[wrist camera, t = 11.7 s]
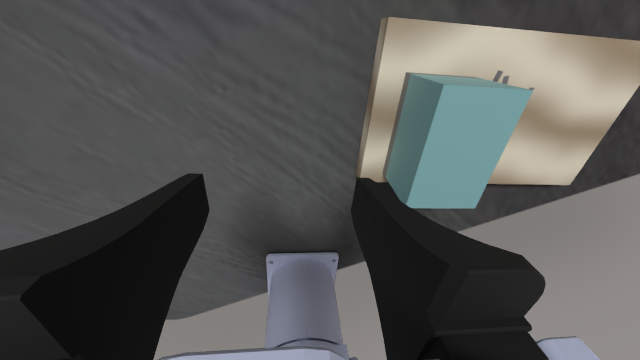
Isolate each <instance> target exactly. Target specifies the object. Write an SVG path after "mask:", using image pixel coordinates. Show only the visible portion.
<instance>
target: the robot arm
mask: <svg viewBox="0 0 640 360" xmlns="http://www.w3.org/2000/svg"><path fill="white" fill-rule="evenodd" d="M208 213H209V205H208V200H207V194H206V189H205V184H204V179H203V174H186V175H184V176H182V177H180V178H178V179H176V180H175V181H173V182H171V183H169V184H167V185H166V186H164V187H162V188H160V189H158V190H157V191H155V192H153V193H151V194H149V195H147V196H146V197H144V198H142V199H140V200H138V201H136V202H134V203H132V204H130V205H128V206H126V207H124V208H122V209H120V210H117V211H115V212H113V213H111V214H108V215H106V216H103V217H101V218H99V219H96V220H94V221H91V222H89V223H86V224H83V225H80V226H77V227H75V228H72V229H69V230H66V231H64V232H61V233H58V234H55V235H52V236H49V237H45V238H42V239H39V240H36V241H32V242H29V243H26V244H22V245H19V246H15V247H12V248H8V249H4V250H1V251H0V360H153V358H154V355H155V351H156V348H157V345H158V342H159V338H160V335H161V332H162V328H163V325H164V322H165V319H166V316H167V313H168V310H169V307H170V304H171V301H172V298H173V296H174V293H175V290H176V287H177V284H178V282H179V279H180V277H181V275H182V272H183V270H184V268H185V266H186V264H187V262H188V260H189V258H190V256H191V254H192V252H193V250H194V248H195V246H196V244H197V242H198V239H199V237H200V235H201V233H202V231H203V229H204V226H205V223H206V220H207V217H208ZM351 214H352V219H353V224H354V229H355V232H356V235H357V237H358V240H359V243H360V246H361V249H362V252H363V255H364V258H365V260H366V263H367V266H368V269H369V273H370V276H371V281H372V285H373V289H374V293H375V298H376V303H377V307H378V312H379V317H380V322H381V328H382V333H383V338H384V344H385V350H386V356H387V360H600V359H599V358H598V357H597V356H596V355H595V354H594V353H593V352H592V351H591V350H590V349H589V347H588V346H586V344H585V343H584V342H583V341H582V340H581V339H580V338H579V337H575V336H572V337H556V338H546V339H542V340H540V341H537V342H535V341H534V339H533V338H532V337H531V336H530V334H529V333H528V332H529V331H531V330H532V327H531V325H530V324H529V322H528V321H527V320H526V319H525V317H524V315H525V314H526V313H527V312H528V311H529V310H530V309H531V308H532V306H533V305H534V304H535V303H536V302H537V301H538V299H539V298H540V297H541V295H542V294H543V292H544V288H545V280H544V277H543V276H542V275H541V274H540V273H539V272H538V271H537V270H536V269H535V268H534V267H533V266H532V265H531V264H530V263H529V262H528V261H527V260H526V259H525V258H524V257H523V256H522V255H519V254H516V253H512V252H510V251H506V250H503V249H500V248H497V247H494V246H490V245H488V244H484V243H482V242H480V241H476V240H474V239H471V238H469V237H466V236H464V235H462V234H459V233H457V232H455V231H453V230H451V229H448V228H446V227H444V226H442V225H440V224H438V223H436V222H434V221H432V220H430V219H429V218H427V217H425V216H423V215H421V214H420V213H418V212H416V211H415V210H413V209H412V208H410V207H409V206H407V205H406V204H404V203H403V202H401V201H400V200H399V199H397V198H396V197H394V196H393V195H392V194H390V193H389V192H388V191H387V190H385V189H384V188H383V187H381V186H380V185H379V184H377V183H376V182H375V181H373V180H372V179H370V178H359V177H357V180H356V186H355V191H354V197H353V203H352V208H351ZM333 259H335V260H333ZM338 259H339V256H338V253H336V252H325V253H274V254H268V255H267V257H266V264H267V281H268V298H269V305H268V315H267V327H266V336H265V347H264V348H258V349H240V350H223V351H206V352H189V353H182V354H177V355H172V356H167V357H162V358H160V359H159V360H358V359H357V358H356V357H352V358H349V356H348V350H347V345H343V339H342V333H341V327H340V321H339V314H338V308H337V301H336V295H335V289H334V284H335V277H336V271H337V265H338Z"/></svg>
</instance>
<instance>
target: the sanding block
mask: <svg viewBox="0 0 640 360" xmlns="http://www.w3.org/2000/svg"><path fill="white" fill-rule="evenodd" d="M532 92H533V90H529V89H525V88H520V87H516V86H512V85H507V84H503V83H499V82H494V81H490V80H486V79H481V78H477V77H468V76H453V75H439V74H425V73H411V72H406V74H405V78H404V83H403V87H402V91H401V95H400V100H399V104H398V108H397V113H396V117H395V121H394V126H393V130H392V134H391V139H390V143H389V147H388V151H387V156H386V160H385V164H384V169H383V174H384V176H385V177H386V179H387V181H388V182H389V184H390V185H391V187H392V188H393V190H394V191H395V193H396V195H397V196H398V198H399V199H400V201H401V202H403V203H404V204H406V205H407V206H409V207H410V208H475V207H476V205H477V203H478V201H479V199H480V197H481V195H482V193H483V191H484V189H485V187H486V185H487V183H488V181H489V179H490V177H491V175H492V173H493V171H494V169H495V167H496V165H497V163H498V161H499V159H500V157H501V155H502V153H503V151H504V149H505V147H506V145H507V143H508V141H509V139H510V137H511V135H512V133H513V131H514V129H515V127H516V125H517V123H518V121H519V119H520V116H521V114H522V112H523V110H524V108H525V106H526V104H527V102H528V100H529V98H530V96H531V94H532Z"/></svg>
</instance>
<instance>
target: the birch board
mask: <svg viewBox="0 0 640 360" xmlns="http://www.w3.org/2000/svg"><path fill="white" fill-rule="evenodd" d="M406 72H411V73H425V74H439V75H453V76H468V77H477V78H481V79H486V80H490V81H494V82H499V83H503V84H507V85H512V86H516V87H520V88H525V89H529V90H533V92H532V94H531V96H530V98H529V100H528V102H527V104H526V106H525V108H524V110H523V112H522V114H521V116H520V119H519V121H518V123H517V125H516V127H515V129H514V131H513V133H512V135H511V137H510V139H509V141H508V143H507V145H506V147H505V149H504V151H503V153H502V155H501V157H500V159H499V161H498V163H497V165H496V167H495V169H494V171H493V173H492V175H491V177H490V179H489V181H488V183H487V184H536V185H570V184H571V182H572V181H573V180H574V178H575V177H576V175H577V174H578V172H579V171H580V170H581V168H582V167H583V165H584V164H585V162H586V161H587V160H588V158H589V157H590V155H591V154H592V152H593V151H594V149H595V148H596V147H597V145H598V144H599V142H600V141H601V139H602V138H603V137H604V135H605V134H606V132H607V131H608V129H609V128H610V127H611V125H612V124H613V122H614V121H615V119H616V118H617V117H618V115H619V114H620V112H621V111H622V109H623V108H624V107H625V105H626V104H627V102H628V101H629V99H630V98H631V97H632V95H633V94H634V92H635V91H636V89H637V88H638V86H639V85H640V41H634V40H623V39H613V38H602V37H592V36H582V35H571V34H561V33H550V32H540V31H529V30H519V29H508V28H498V27H488V26H477V25H467V24H456V23H446V22H435V21H425V20H414V19H404V18H393V17H387V18H381V24H380V30H379V36H378V42H377V48H376V54H375V60H374V66H373V72H372V78H371V84H370V90H369V96H368V102H367V108H366V114H365V120H364V126H363V132H362V138H361V144H360V150H359V156H358V162H357V168H356V176H357V177H359V178H370V179H372V180H373V181H375V182H388V181H387V179H386V177H385V176H384V174H383V169H384V164H385V160H386V156H387V151H388V147H389V143H390V139H391V134H392V130H393V126H394V121H395V117H396V113H397V108H398V104H399V100H400V95H401V91H402V87H403V83H404V78H405V74H406Z"/></svg>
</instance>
